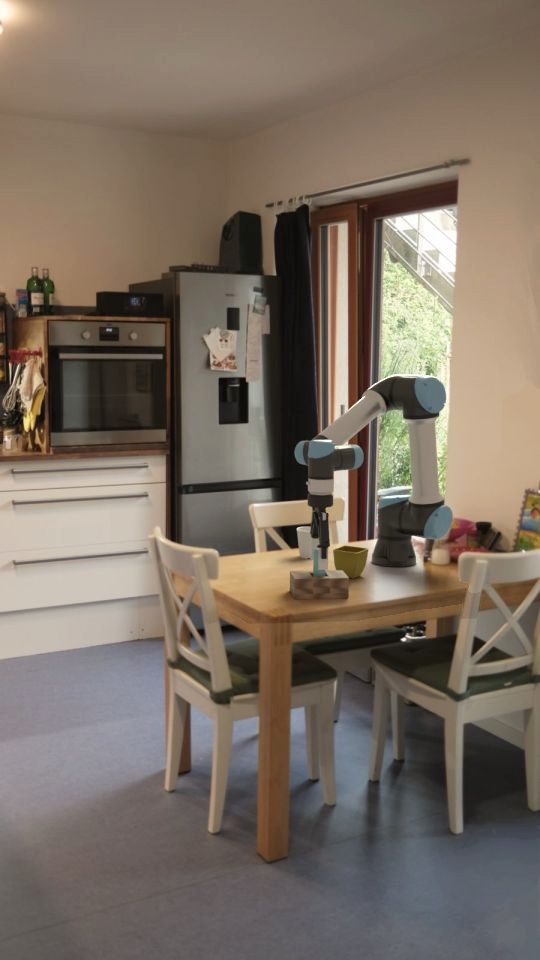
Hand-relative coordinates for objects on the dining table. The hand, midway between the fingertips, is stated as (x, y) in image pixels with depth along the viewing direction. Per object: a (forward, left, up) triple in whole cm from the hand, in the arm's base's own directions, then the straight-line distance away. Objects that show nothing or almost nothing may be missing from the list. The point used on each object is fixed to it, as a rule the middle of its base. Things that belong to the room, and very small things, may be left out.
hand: (319, 564), depth 289 cm
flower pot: (-14, -22, -9) cm, 28 cm away
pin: (0, 0, -8) cm, 8 cm away
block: (0, 0, -9) cm, 9 cm away
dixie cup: (-5, -52, -9) cm, 53 cm away
